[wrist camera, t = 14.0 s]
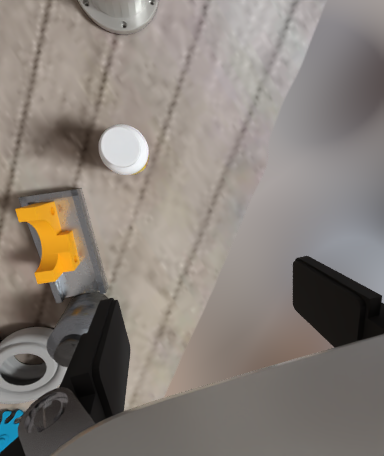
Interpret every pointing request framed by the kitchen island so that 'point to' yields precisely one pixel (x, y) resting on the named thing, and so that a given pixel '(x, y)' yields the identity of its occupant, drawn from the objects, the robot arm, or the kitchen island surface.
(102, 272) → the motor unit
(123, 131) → the supplement bottle
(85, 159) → the kitchen island surface
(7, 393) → the turbocharger housing
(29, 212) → the pipe clamp
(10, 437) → the gear
